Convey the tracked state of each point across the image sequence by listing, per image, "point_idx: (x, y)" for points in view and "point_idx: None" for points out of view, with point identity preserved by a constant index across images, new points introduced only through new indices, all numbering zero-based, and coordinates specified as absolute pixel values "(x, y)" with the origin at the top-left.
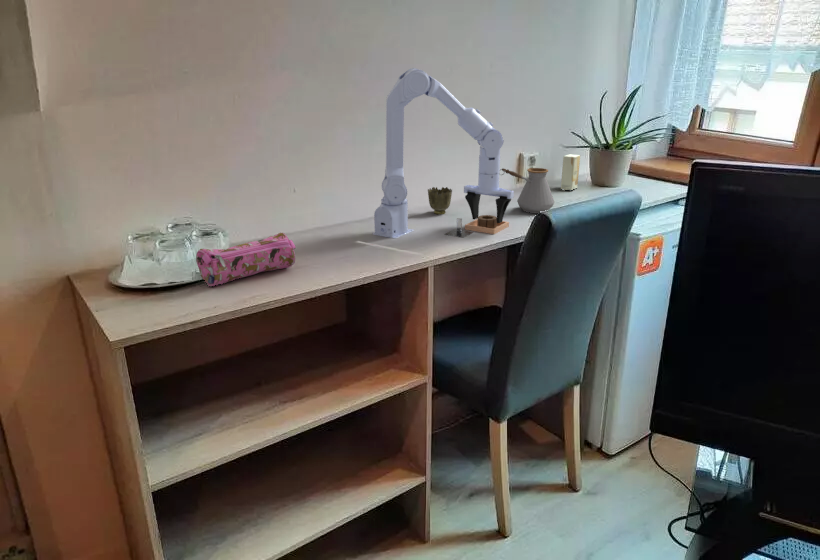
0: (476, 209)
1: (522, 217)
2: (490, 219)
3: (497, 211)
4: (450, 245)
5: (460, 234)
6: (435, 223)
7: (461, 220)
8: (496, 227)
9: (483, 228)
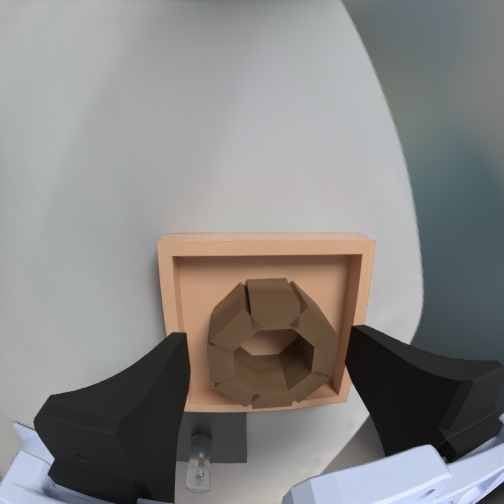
0: (174, 388)
1: (320, 3)
2: (311, 385)
3: (377, 421)
4: (245, 490)
5: (216, 448)
6: (27, 340)
7: (209, 484)
8: (346, 374)
9: (288, 407)
